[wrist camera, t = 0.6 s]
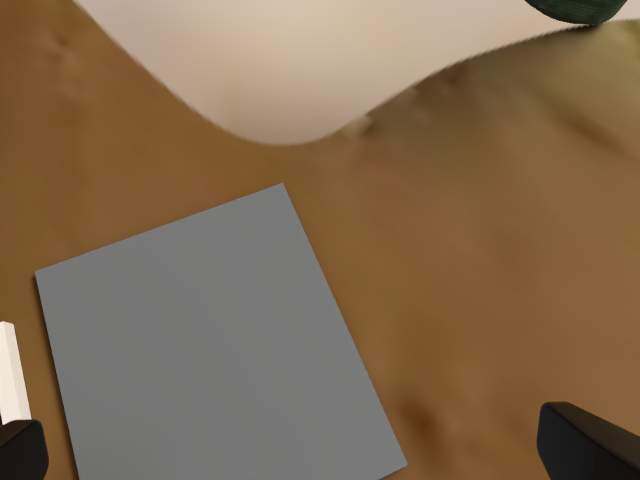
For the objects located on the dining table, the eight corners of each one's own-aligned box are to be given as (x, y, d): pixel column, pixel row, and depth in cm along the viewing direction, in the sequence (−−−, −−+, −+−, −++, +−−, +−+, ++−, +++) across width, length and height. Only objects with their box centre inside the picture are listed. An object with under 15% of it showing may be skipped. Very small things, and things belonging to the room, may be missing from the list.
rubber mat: (406, 463, 21) (407, 464, 20) (113, 611, 18) (109, 615, 18) (283, 185, 25) (282, 182, 25) (39, 273, 23) (34, 271, 23)
